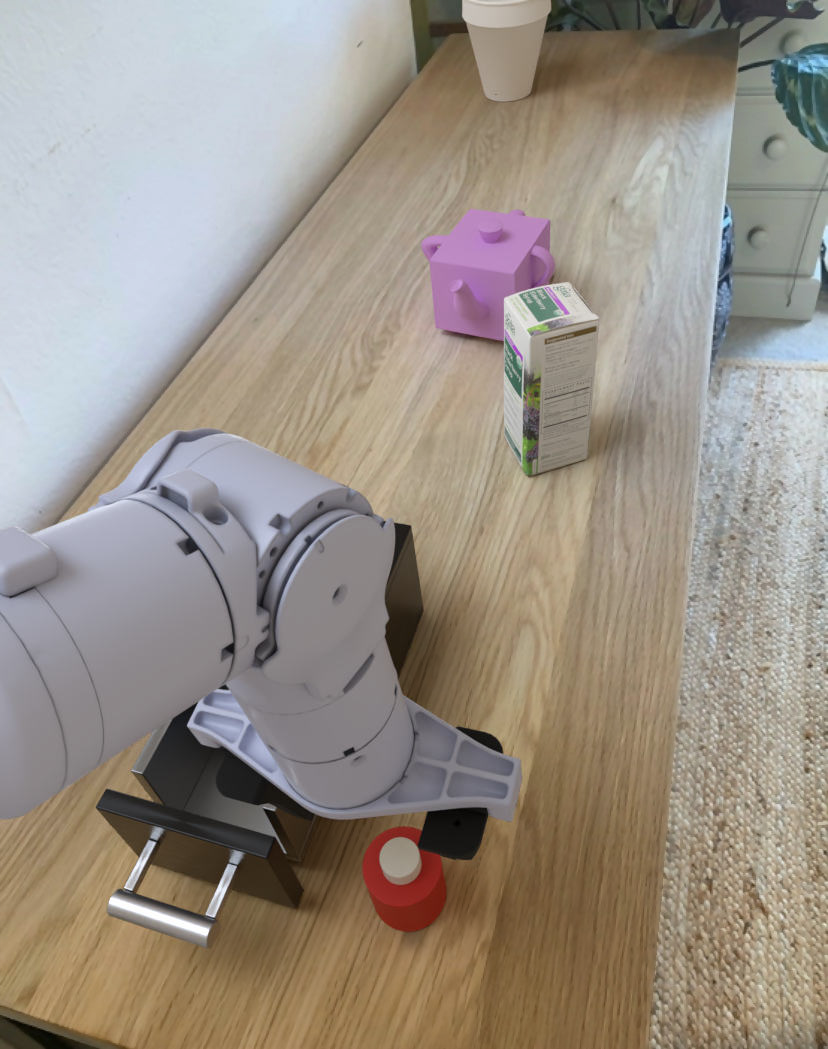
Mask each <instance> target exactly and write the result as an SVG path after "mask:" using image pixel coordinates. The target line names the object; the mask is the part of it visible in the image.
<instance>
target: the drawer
mask: <svg viewBox="0 0 828 1049" xmlns="http://www.w3.org/2000/svg"><path fill="white" fill-rule="evenodd" d="M219 689H221V690H229V689H228V687H227V685H226V684H225V685H223V686H222V687H220V688H219ZM198 702H199V701H198ZM198 702H197V703H195V704H194V705H192V706H191V707H189V708H188V709H186V710H185V711H183V712H182V713H180V714H178V715H177V716H175V717H174V718H172V719H171V720H169V721H168V722H166V723H165V724H163V725H162V726H160V727H159V728H157V729H156V730H154V731H152V732H151V733H150V734H149V737H148V739H147V741H146V742H145V744H144V746H143V748H142V750H141V751H140V753H139V755H138V756H137V759H136V760H135V762H134V764H133V765H132V767H131V769H130V772H131V774H132V775H133V776H134V777H135V779H136V780H137V781H138V783H139V784H140V785H141V787H142V788H143V790H144V791H145V792H146V794H147V795H148V796H149V797H150V799H151V800H149V799H145V798H142V797H139V796H136V795H133V794H132V795H131V794H128V793H125V792H121V791H117V790H114V789H111V788H106V789H104V792H103V793H102V795H101V797H100V799H99V800H98V802H97V803H96V806H95V809H96V810H97V811H98V813H100V815H101V816H102V817H103V818H104V819H105V820H106V821H107V823H108V824H109V825H110V826H111V827H112V828H113V830H114V831H115V832H116V833H117V834H118V835H119V836H120V838H121V839H122V840H123V841H124V843H125V844H127V846H128V847H129V848H130V849H131V850H132V851H133V852H134V854H135V855H136V856H137V857H138V859H137V861H136V863H135V865H134V867H133V868H132V870H131V872H130V874H129V876H128V877H127V879H126V882H125V883H124V884H125V885H123V888H117V889H116V890H115V891H113V893H112V894H111V896H110V898H109V899H108V902H107V907H106V913H107V916H108V917H111V918H115V919H118V920H121V921H122V922H125V923H128V924H129V923H130V924H132V925H136V926H139V927H141V928H143V929H148V930H151V931H152V932H156V933H159V934H161V935H164V936H167V937H171V938H174V939H177V940H180V941H183V942H186V943H189V944H192V945H195V946H198V947H200V948H203V949H206V950H210V949H212V947H213V946H215V944H216V942H217V940H218V936H219V934H220V930H221V923H220V922H221V921H220V920H219V919H220V917H221V915H222V912H223V910H224V908H225V905H226V904H227V901H228V899H229V897H230V894H231V892H232V891H236V892H239V893H242V894H245V895H247V896H251V897H255V898H258V899H260V900H265V901H267V902H269V903H274V904H277V905H280V906H284V907H287V908H290V909H294V910H297V909H298V908H299V905H300V902H301V900H302V897H303V895H304V892H305V889H304V887H303V884H302V883H301V881H300V879H299V877H298V875H297V873H296V871H295V870H294V869H293V866H292V865H291V862H290V861H289V860H291V861H294V862H298V863H302V862H303V860H304V857H305V854H306V851H307V849H308V847H309V845H310V842H311V839H312V836H313V834H314V831H315V829H316V827H317V824H318V821H319V819H320V816H319V815H317V814H315V815H314V818H313V821H308V820H304V819H301V818H297V817H294V816H292V815H290V814H288V813H286V812H284V811H283V810H281V809H279V808H277V807H275V806H273V805H271V804H269V803H268V804H263V805H253V804H249V803H245V802H242V801H238V800H234V799H231V798H227V797H225V796H223V795H222V794H221V793H220V792H219V790H218V789H217V787H216V782H215V781H216V774H217V771H218V769H219V766H220V764H221V762H222V760H223V757H224V755H223V750H224V748H223V746H221V747H220V748H213V747H209V746H205V745H202V744H201V743H200V742H199V741H198V740H197V738H196V737H195V736H194V734H193V733H192V732H191V731H190V729H189V728H188V727H187V724H188V722H189V720H190V718H191V716H192V714H193V712H194V710H195V708H196V706H197V704H198ZM151 866H155V867H158V868H163V869H165V870H168V871H171V872H174V873H176V874H177V873H178V874H181V875H183V876H187V877H190V878H194V879H197V880H200V881H203V882H207V883H210V884H212V885H216V886H217V887H216V889H215V892H214V894H213V896H212V898H211V900H210V902H209V905H208V907H207V909H206V912H205V914H204V915H203V914H200V913H197V912H194V911H191V910H188V909H185V908H182V907H179V906H175V905H174V904H173V905H172V904H171V903H167V902H163V901H160V900H157V899H154V898H152V897H148V896H145V895H142V894H139V893H138V891H139V889H140V887H141V885H142V883H143V881H144V880H145V877H146V875H147V873H148V871H149V870H150V867H151Z"/></svg>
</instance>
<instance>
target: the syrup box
mask: <svg viewBox="0 0 828 1049" xmlns="http://www.w3.org/2000/svg"><path fill="white" fill-rule="evenodd" d="M599 330H600V317H599V316H598V315H597V314H596V313H594V311H593V310H592V308H591V306H589V304H588V303H587V301H586V300H585V298H584V297H583V296H582V295H581V294H580V293H579V291H578V290H577V289H576V288H575V286H574V285H573V284H572V283H571V282H569V281H564V282H559V283H552V284H549V285H545V286H541V287H536V288H532V289H528V290H525V291H522V292H519V293H516V294H513V295H510V296H508V297H505V298H504V341H503V423H504V424H503V425H504V426H503V428H504V429H503V430H504V435H503V436H504V439H505V441H506V442H507V444H508V445H509V448H510V450H511V452H512V454H513V455H514V457H515V459H516V461H517V462H518V464H519V466H520V467H521V469H522V470H523V472H524V474H525V476H526V477H531V476H535V475H539V474H542V473H545V472H548V471H552V470H555V469H559V468H562V467H566V466H569V465H571V464H575V463H578V462H581V461H584V460H587V459H588V452H589V442H590V441H589V440H590V432H591V419H592V407H593V397H594V385H595V376H596V375H595V374H596V364H597V353H598V352H597V351H598V343H599V342H598V341H599Z"/></svg>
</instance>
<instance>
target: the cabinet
mask: <svg viewBox="0 0 828 1049" xmlns="http://www.w3.org/2000/svg"><path fill="white" fill-rule="evenodd" d="M385 522H386V520H384V524H385ZM394 526H395V549H394V556H393V561H392V566H391V570H390V573H389V577H388V580H387V584H386V589H385V606H386V609H387V613H388V616H389V620H388V622H387V623H386V625H385V629H386V633H385V640H386V643H387V646H388V649H389V652H390V655H391V659H392V662H393V665H394V668H395V669H396V672H397V675H398V677H397V678H398V680H399V679H400V676H401V674H402V671H403V667H404V666H405V662H406V660H407V657H408V654H409V652H410V649H411V647H412V644H413V642H414V639H415V635H416V633H417V630H418V628H419V626H420V622H421V620H422V617H423V614H424V612H425V610H424V600H423V595H422V588H421V582H420V574H419V569H418V561H417V553H416V548H415V541H414V533H413V528H412V525H411V524H405V523H401V522H395V521H394Z"/></svg>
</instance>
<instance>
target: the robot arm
mask: <svg viewBox="0 0 828 1049" xmlns="http://www.w3.org/2000/svg"><path fill="white" fill-rule="evenodd" d="M384 519H385V518H384V517H383V516H380V515H378V514H376V513H374V511H373V508H372V505H371V503H370V501H369V500H368V499H367V497H365V495H363V494H362V493H361V492H359V491H357V490H356V489H353V488H351V487H349V486H347V485H345V484H343V483H340V482H338V481H337V480H335V479H332V478H331V477H328V476H326V475H323V474H321V473H320V472H317V471H315V470H313V469H311V468H309V467H306V466H304V465H302V464H300V463H298V462H296V461H294V460H292V459H289V458H288V457H285V456H283V455H281V454H278V453H277V452H275V451H272V450H271V449H268V448H266V447H263V446H261V445H259V444H258V443H255V442H253V441H251V440H249V439H246V438H245V437H243V436H240V435H237V434H234V433H233V434H232V433H228V432H226V431H224V430H221V429H218V428H212V427H200V428H194V429H190V430H183V429H182V430H180V429H175V430H172V431H171V432H169V433H167V434H166V435H164V436H163V437H162V438H160V439H159V440H158V441H156V442H155V443H154V444H153V445H152V446H151V447H150V448H149V449H148V450H146V451H145V453H144V454H143V455H142V456H141V457H140V459H138V461H137V462H136V463H135V465H134V466H133V468H132V469H131V470H130V471H129V473H128V474H127V476H126V477H125V479H124V480H123V481H122V482H121V483H120V484H119V485H118V486H116V487H115V488H113V489H112V490H110V491H107V492H105V493H102V494H99V496H98V502H97V503H96V504H94V505H92V506H90V507H88V508H87V511H86V512H84V513H81V514H79V515H76V516H73V517H71V518H67V519H66V520H63V521H61V522H59V523H56V524H53V525H51V526H48V527H46V528H43V529H40V530H37V531H35V532H32V533H30V534H29V533H28V532H26V531H25V530H23V529H22V528H20V527H19V526H16V525H9V526H7V527H4V528H1V529H0V820H13V819H14V820H15V819H19V818H22V817H24V816H26V815H28V814H29V813H31V812H32V811H34V810H35V809H37V808H38V807H40V806H41V805H43V804H44V803H46V802H48V801H49V800H50V799H52V798H54V797H55V796H57V795H59V794H60V793H61V792H63V791H65V790H67V788H69V787H71V786H72V785H74V784H75V783H77V782H78V781H80V780H81V779H83V778H84V777H86V776H87V775H89V774H91V772H93V771H95V770H96V769H97V768H99V767H100V766H102V765H104V764H105V763H106V762H109V761H110V760H111V759H113V758H115V757H116V756H117V755H119V754H120V753H122V752H124V751H125V750H127V749H128V748H130V747H131V746H132V745H134V744H136V743H137V742H139V741H140V740H142V739H143V738H145V737H147V736H148V735H150V734H152V732H153V731H154V730H156V729H157V728H159V727H160V726H162V725H163V724H165V723H166V722H168V721H169V720H171V719H172V718H174V717H175V716H177V715H178V714H180V713H182V712H183V711H185V710H186V709H188V708H189V707H191V706H192V705H194V704H195V703H197V702H198V701H199V702H198V704H197V706H196V708H195V710H194V712H193V714H192V716H191V718H190V720H189V722H188V724H187V727H188V728H189V729H190V731H191V732H192V733H193V734H194V736H195V737H196V738H197V740H198V741H199V742H200V743H201V744H202V745H205V746H209V747H213V748H220V747H221V746H223V748H224V750H223V755H224V757H223V760H222V762H221V764H220V766H219V769H218V771H217V774H216V781H215V782H216V787H217V789H218V790H219V792H220V793H221V794H222V795H223V796H225V797H227V798H231V799H234V800H238V801H242V802H245V803H249V804H253V805H263V804H268V803H269V804H271V805H273V806H275V807H277V808H279V809H281V810H283V811H284V812H286V813H288V814H290V815H292V816H294V817H297V818H301V819H304V820H308V821H313V818H314V815H315V814H317V815H319V817H321V818H325V819H331V820H341V821H342V820H343V821H344V820H359V819H368V818H376V817H378V818H379V817H385V816H396V815H405V814H415V813H416V814H417V813H424V812H426V815H425V819H424V822H423V824H422V829H421V831H422V832H421V835H420V839H419V842H418V849H420V850H424V851H427V852H431V853H435V854H439V855H440V856H441V858H446V859H449V860H454V861H456V860H459V861H472V860H473V859H474V858H475V856H476V854H477V853H478V851H479V849H480V847H481V845H482V843H483V839H484V836H485V835H484V834H485V831H486V828H487V822H488V819H489V817H491V818H492V819H496V820H500V821H503V822H507V823H512V822H513V821H514V816H515V812H516V809H517V804H518V801H519V795H520V792H521V787H522V783H523V770H522V769H523V768H522V761H521V760H522V759H520V758H518V757H515V756H511V755H508V754H505V753H504V749H503V745H502V744H501V741H500V740H499V739H498V738H497V737H496V736H495V735H493V734H492V733H490V732H487V731H483V730H477V729H473V728H469V727H464V726H459V725H457V726H456V727H454V726H453V725H451V724H450V723H448V722H447V721H445V720H443V719H442V718H440V717H439V716H437V715H435V714H434V713H433V712H431V711H430V710H428V709H426V708H424V706H421V705H419V704H418V703H416V702H415V701H414V700H411V699H410V698H409V697H407V696H406V695H404V694H403V691H402V688H401V685H400V682H399V679H398V678H397V677H398V675H397V672H396V669H395V668H394V665H393V662H392V659H391V655H390V652H389V649H388V646H387V643H386V640H385V633H386V629H385V625H386V623H387V622H388V620H389V616H388V613H387V609H386V606H385V589H386V584H387V580H388V577H389V573H390V570H391V566H392V561H393V556H394V549H395V526H394V522H395V520H394V518H392V517H388V518H387V519H386V520H384ZM384 521H386V522H385V524H384ZM225 684H226V685H227V687H228V689H229V690H221V689H219V688H220V687H222V686H223V685H225Z"/></svg>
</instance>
